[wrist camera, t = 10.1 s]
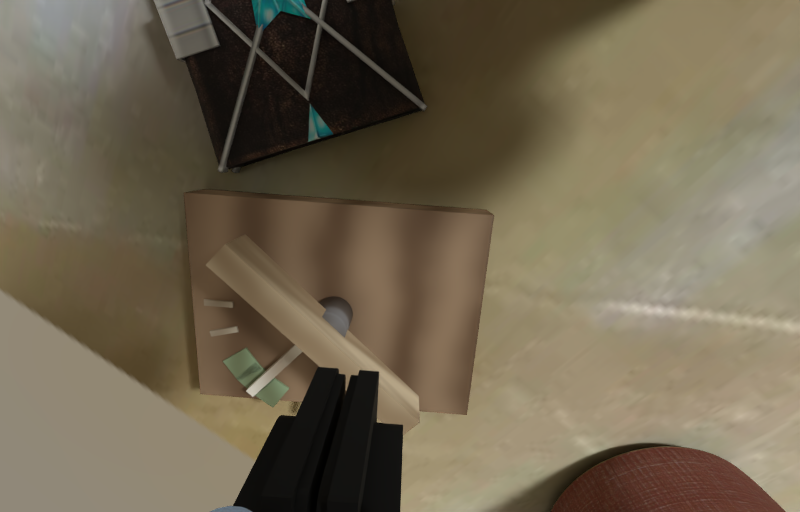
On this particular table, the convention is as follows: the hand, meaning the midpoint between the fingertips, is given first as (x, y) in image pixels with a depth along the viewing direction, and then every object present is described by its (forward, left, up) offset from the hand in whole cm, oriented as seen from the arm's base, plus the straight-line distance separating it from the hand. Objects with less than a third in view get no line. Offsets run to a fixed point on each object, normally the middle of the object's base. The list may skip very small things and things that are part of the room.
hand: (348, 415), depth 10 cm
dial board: (+4, +6, -23) cm, 24 cm away
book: (+9, -17, -24) cm, 31 cm away
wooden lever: (+7, +9, -20) cm, 23 cm away
